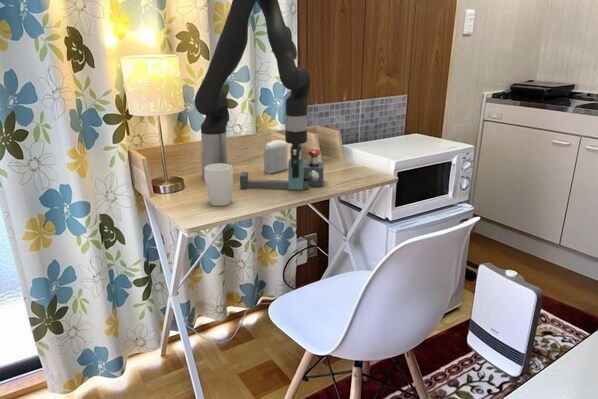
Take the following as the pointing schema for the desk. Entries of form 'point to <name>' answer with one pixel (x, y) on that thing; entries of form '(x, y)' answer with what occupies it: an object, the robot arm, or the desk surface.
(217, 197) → the cup
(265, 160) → the white rounded block
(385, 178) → the desk surface
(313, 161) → the plunger
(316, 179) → the rail unit
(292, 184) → the carriage
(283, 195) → the desk surface
